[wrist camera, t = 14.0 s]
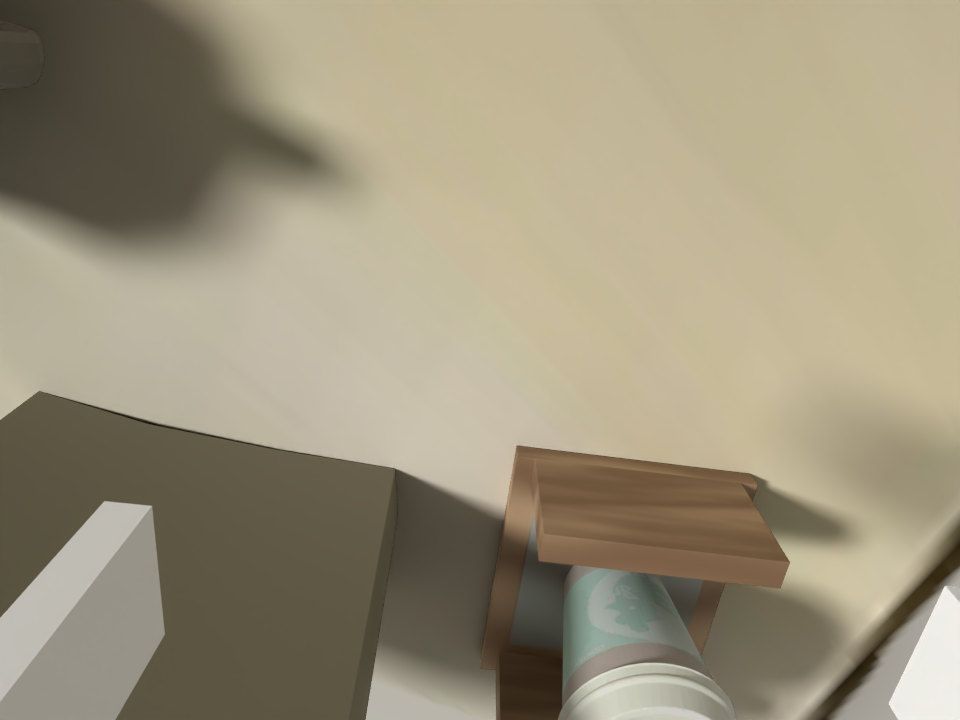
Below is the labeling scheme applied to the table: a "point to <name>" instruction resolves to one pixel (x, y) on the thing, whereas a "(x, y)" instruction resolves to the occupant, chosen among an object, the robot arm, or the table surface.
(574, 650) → the coffee cup
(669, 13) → the table surface
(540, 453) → the holder
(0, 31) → the mug
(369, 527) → the book
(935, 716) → the robot arm
